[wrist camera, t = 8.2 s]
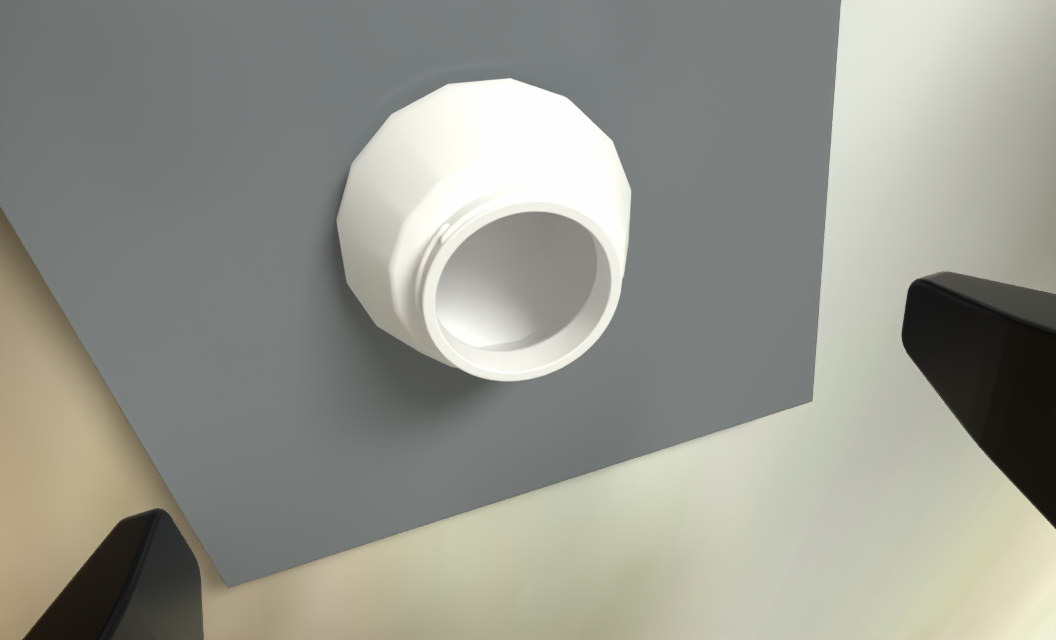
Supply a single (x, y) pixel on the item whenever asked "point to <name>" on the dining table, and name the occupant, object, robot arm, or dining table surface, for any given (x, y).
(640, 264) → the coaster
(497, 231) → the white jar
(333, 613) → the dining table surface
